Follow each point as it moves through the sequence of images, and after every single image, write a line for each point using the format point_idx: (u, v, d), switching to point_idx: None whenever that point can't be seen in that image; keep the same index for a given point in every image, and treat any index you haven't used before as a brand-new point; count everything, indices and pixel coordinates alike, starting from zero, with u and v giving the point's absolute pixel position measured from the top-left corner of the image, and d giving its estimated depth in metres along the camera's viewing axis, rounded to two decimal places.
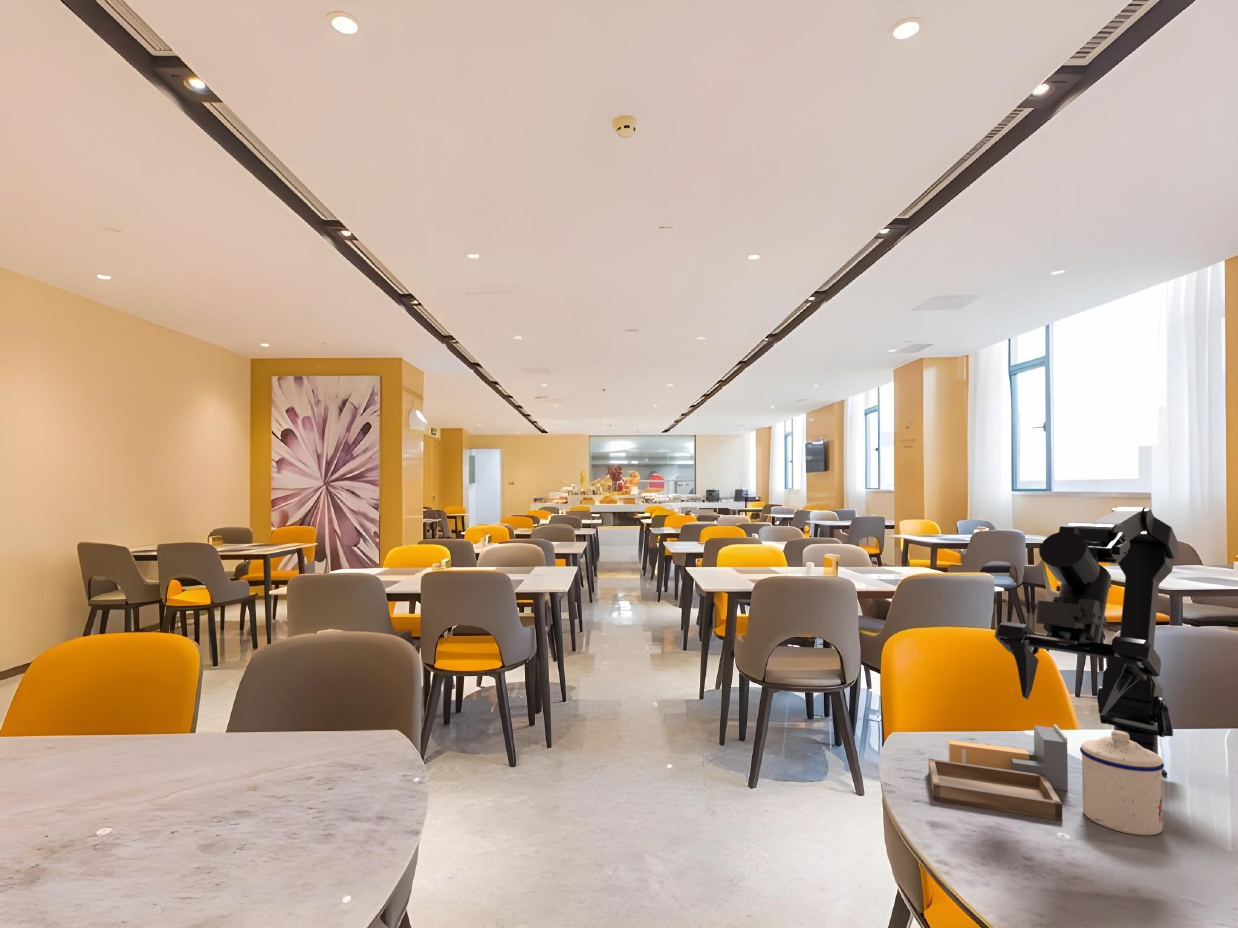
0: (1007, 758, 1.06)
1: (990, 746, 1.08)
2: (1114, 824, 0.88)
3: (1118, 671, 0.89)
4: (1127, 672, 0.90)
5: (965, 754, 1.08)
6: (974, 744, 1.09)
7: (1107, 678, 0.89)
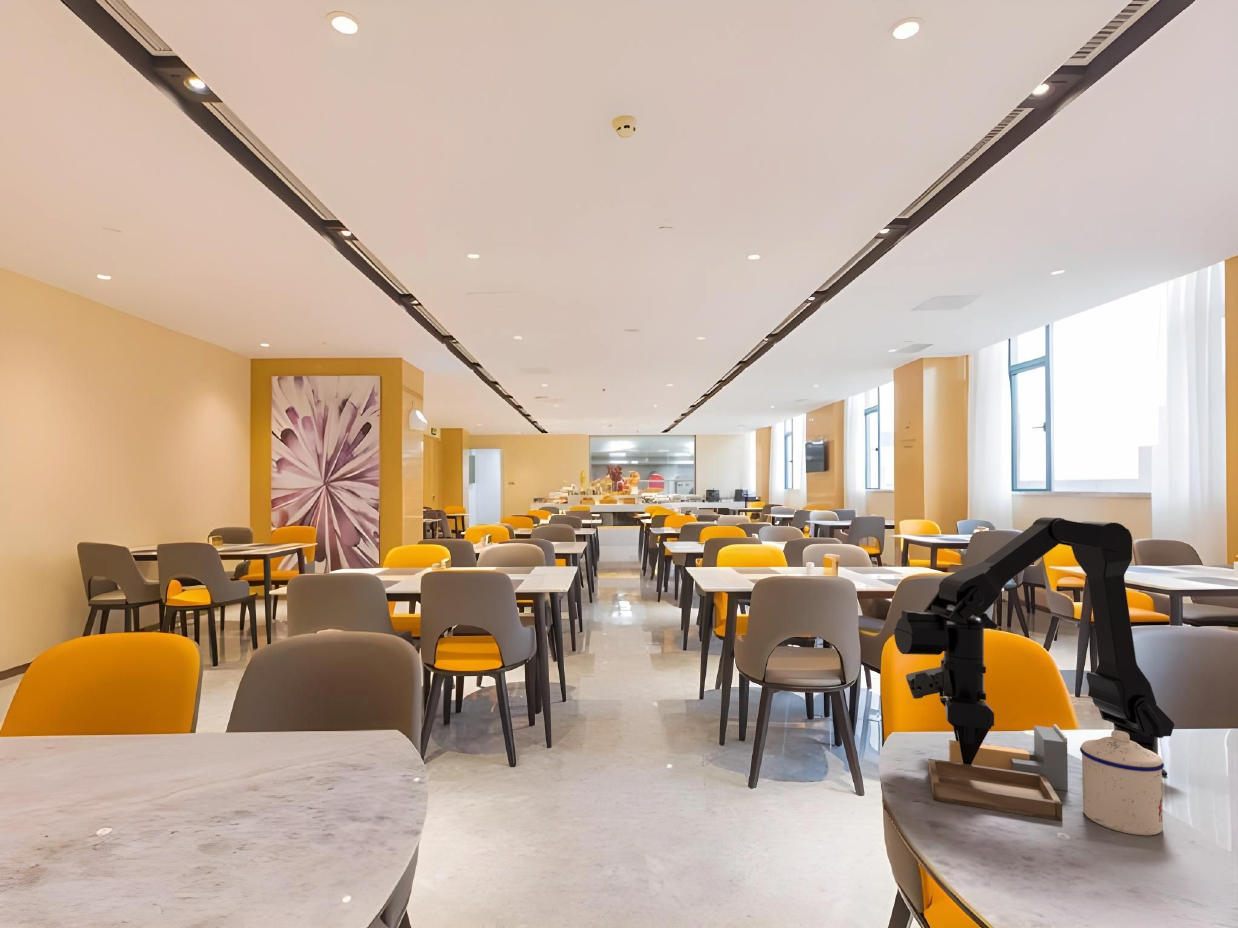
0: (1007, 758, 1.06)
1: (990, 746, 1.08)
2: (1114, 824, 0.88)
3: (955, 728, 1.04)
4: None
5: None
6: None
7: (957, 734, 1.05)
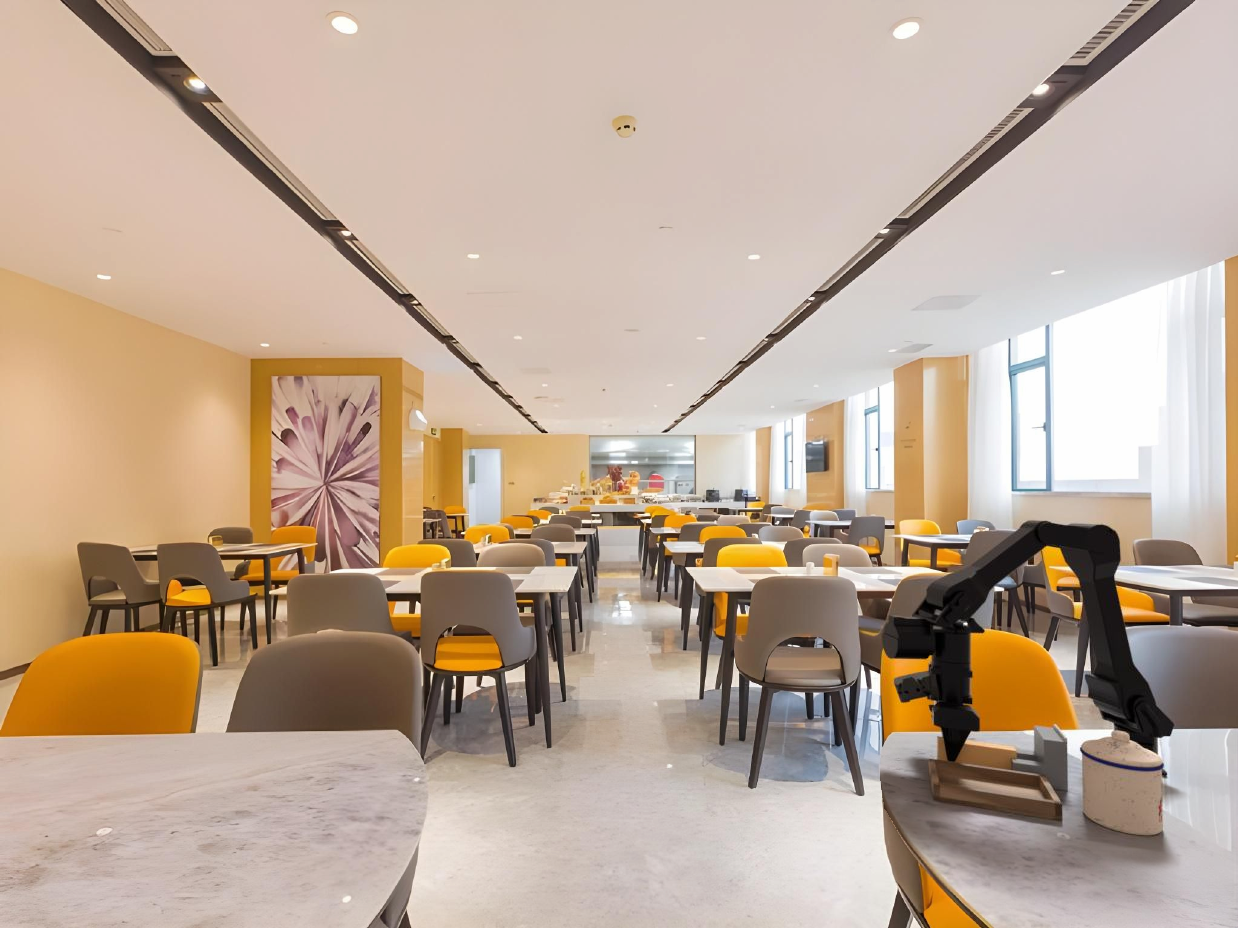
0: (995, 755, 1.06)
1: (978, 743, 1.09)
2: (1114, 824, 0.88)
3: (940, 727, 1.08)
4: None
5: None
6: None
7: (942, 732, 1.09)
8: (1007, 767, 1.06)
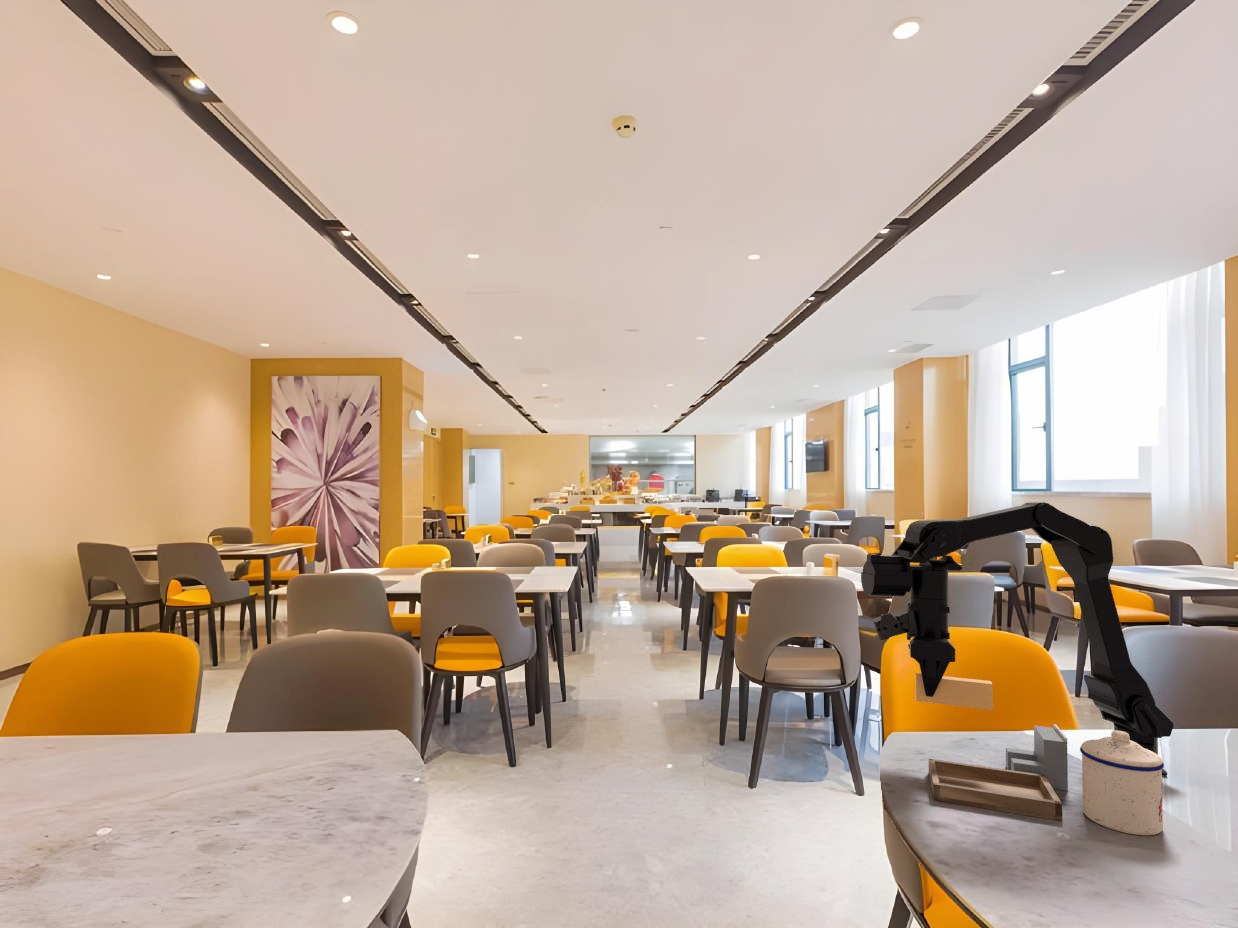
0: (971, 688, 1.08)
1: (955, 678, 1.10)
2: (1114, 824, 0.88)
3: (918, 662, 1.09)
4: None
5: None
6: None
7: (920, 668, 1.10)
8: (983, 700, 1.07)
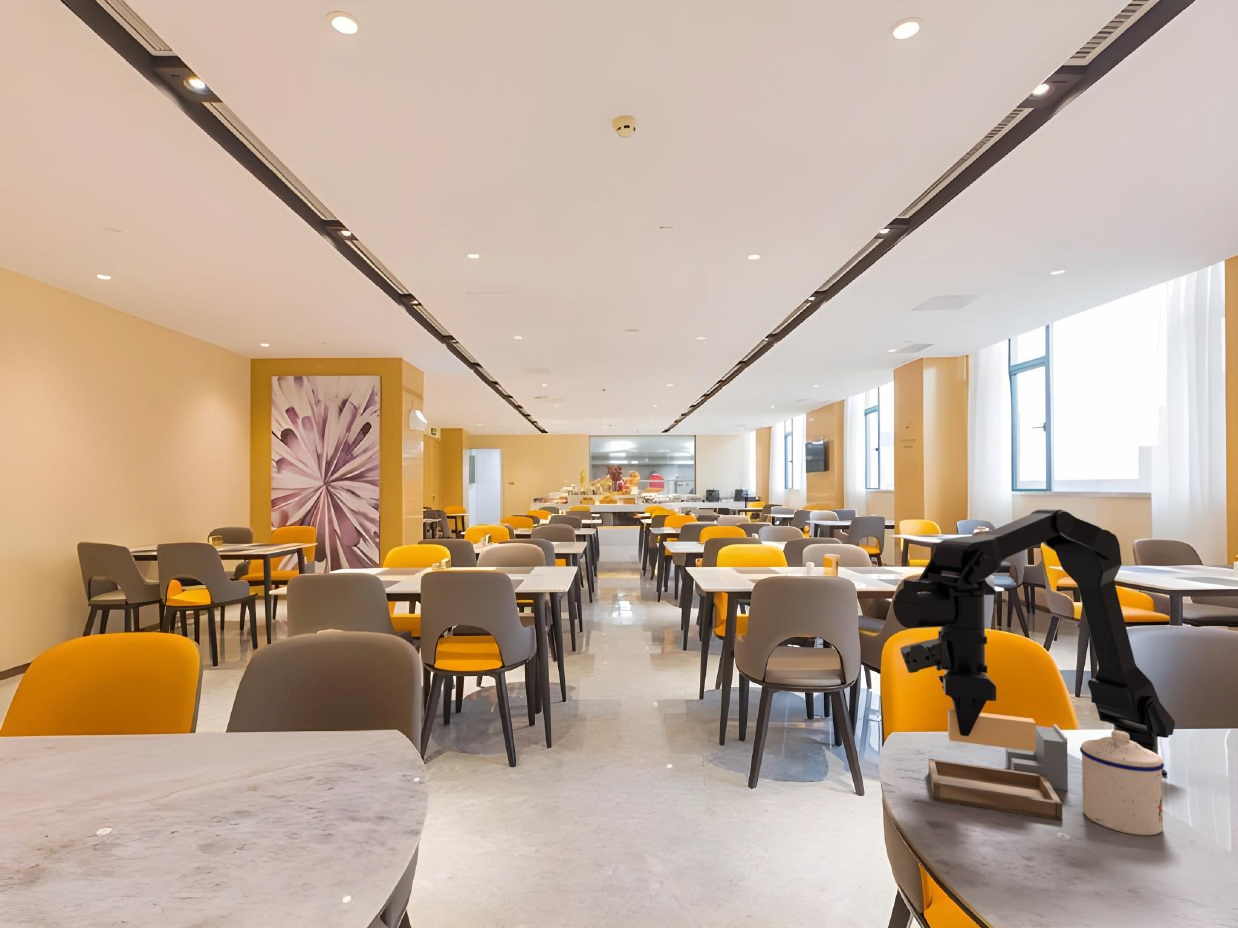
0: (1011, 727, 0.97)
1: (993, 715, 0.99)
2: (1114, 824, 0.88)
3: (952, 698, 0.99)
4: None
5: None
6: None
7: (954, 704, 0.99)
8: (1025, 740, 0.97)
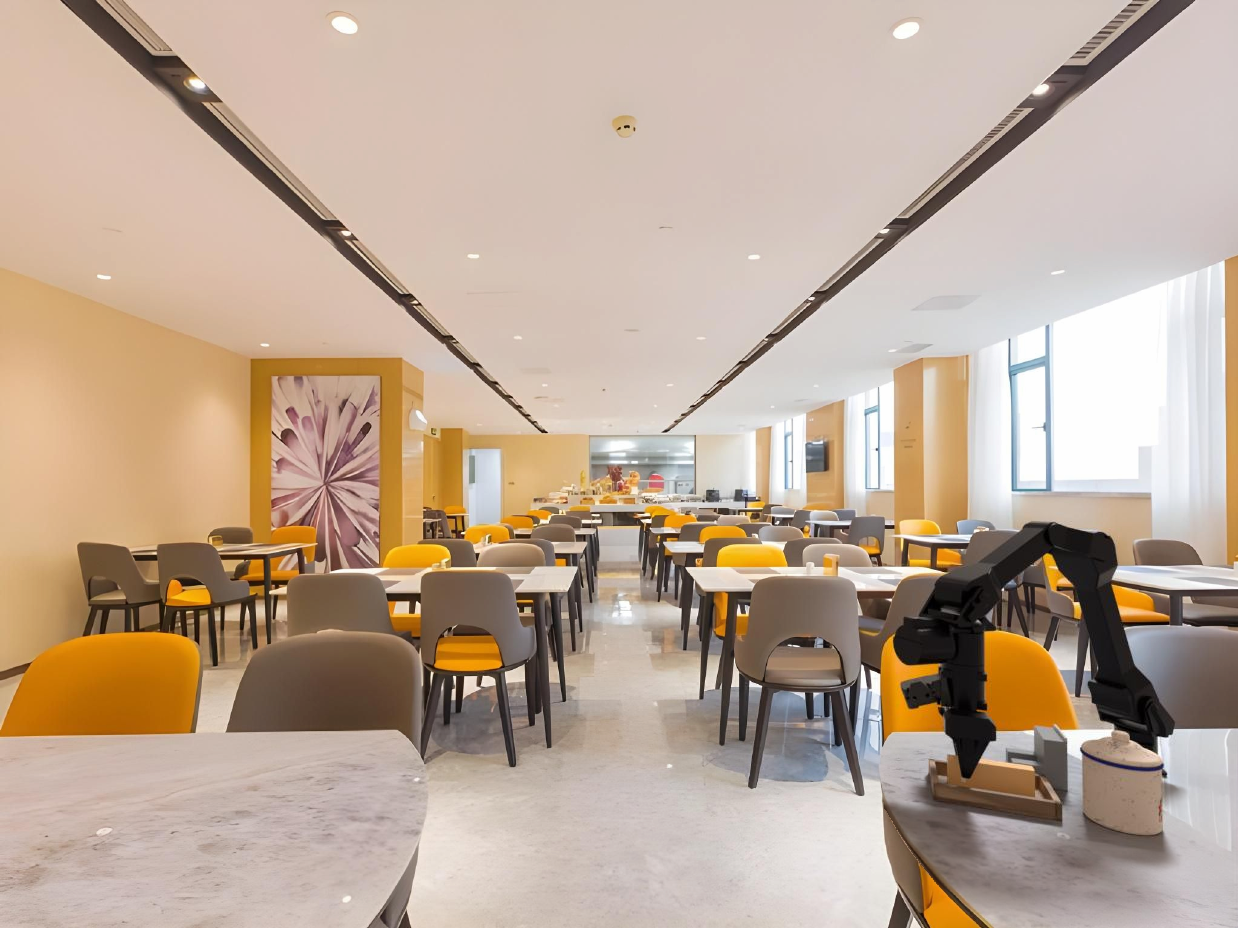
0: (1011, 775, 0.97)
1: (992, 761, 0.99)
2: (1114, 824, 0.88)
3: (953, 740, 0.96)
4: None
5: None
6: None
7: (955, 745, 0.97)
8: (1025, 789, 0.96)
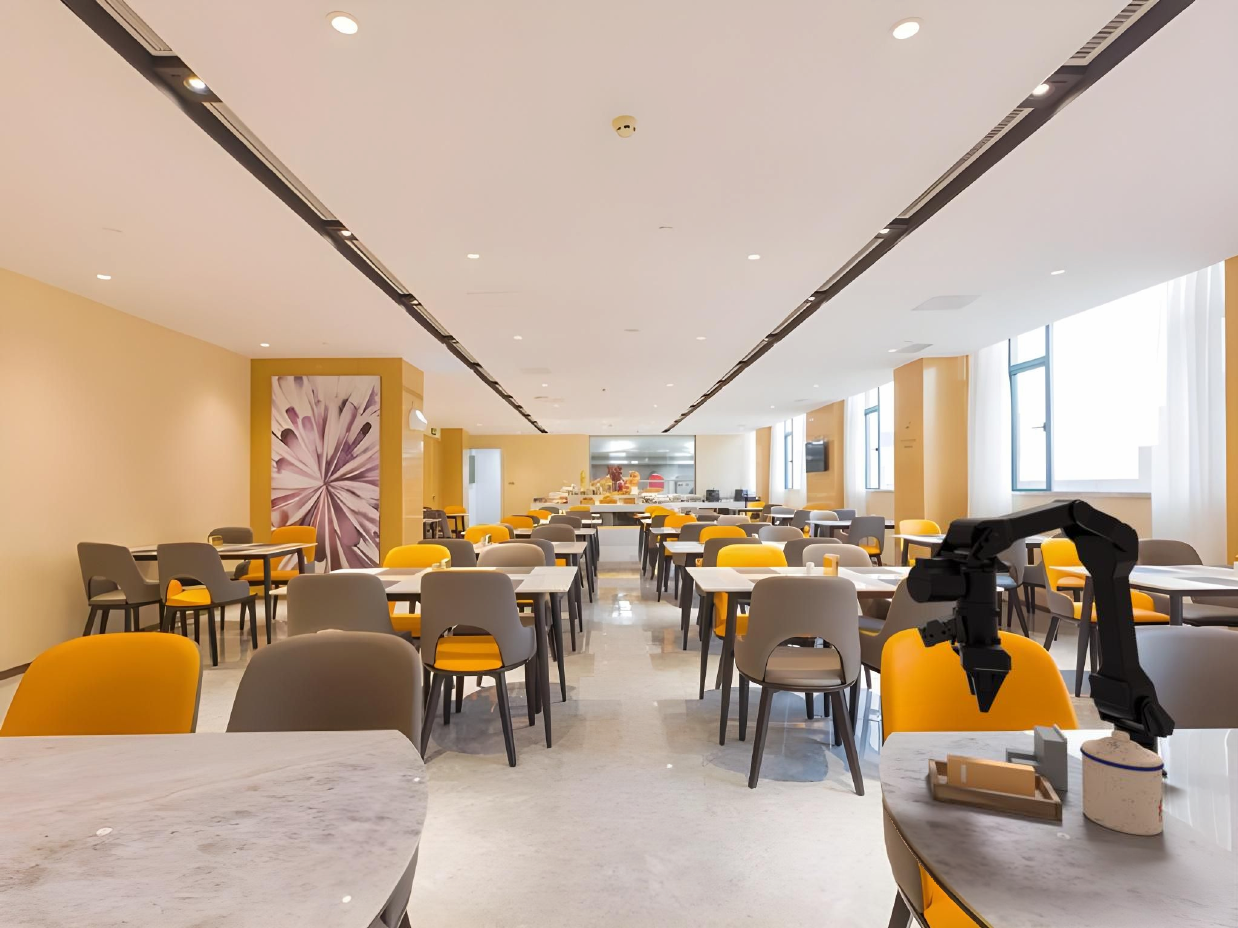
0: (1011, 775, 0.97)
1: (992, 761, 0.99)
2: (1114, 824, 0.88)
3: None
4: None
5: (965, 770, 0.99)
6: (975, 759, 1.00)
7: (973, 681, 1.01)
8: (1025, 789, 0.96)
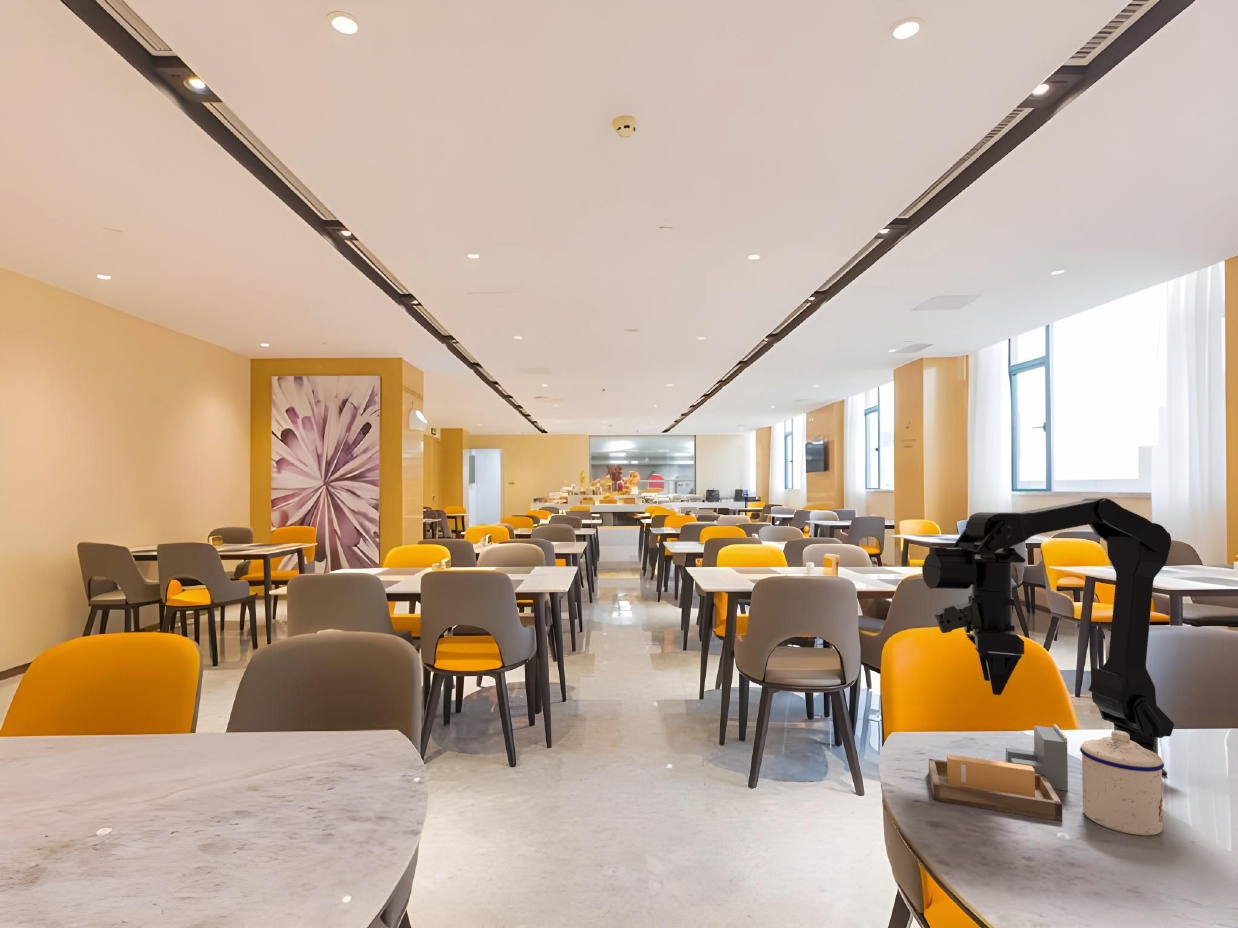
0: (1011, 775, 0.97)
1: (992, 761, 0.99)
2: (1114, 824, 0.88)
3: (985, 659, 1.05)
4: None
5: (965, 770, 0.99)
6: (975, 759, 1.00)
7: (987, 665, 1.06)
8: (1025, 789, 0.96)
